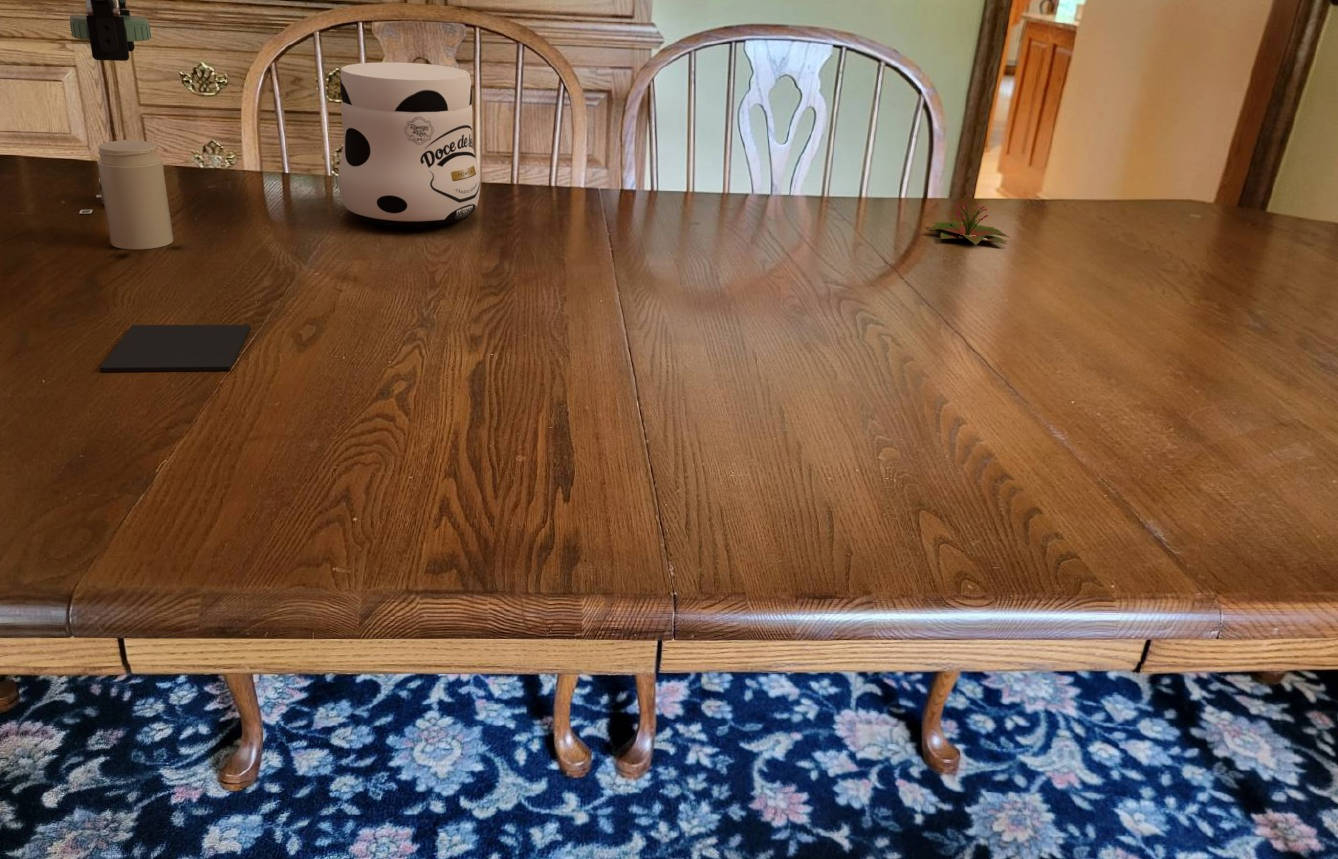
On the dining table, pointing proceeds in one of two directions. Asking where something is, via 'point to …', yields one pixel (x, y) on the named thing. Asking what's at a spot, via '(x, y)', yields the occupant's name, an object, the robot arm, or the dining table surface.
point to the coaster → (177, 348)
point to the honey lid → (133, 25)
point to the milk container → (407, 144)
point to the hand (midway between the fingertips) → (114, 53)
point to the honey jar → (134, 195)
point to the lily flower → (968, 228)
